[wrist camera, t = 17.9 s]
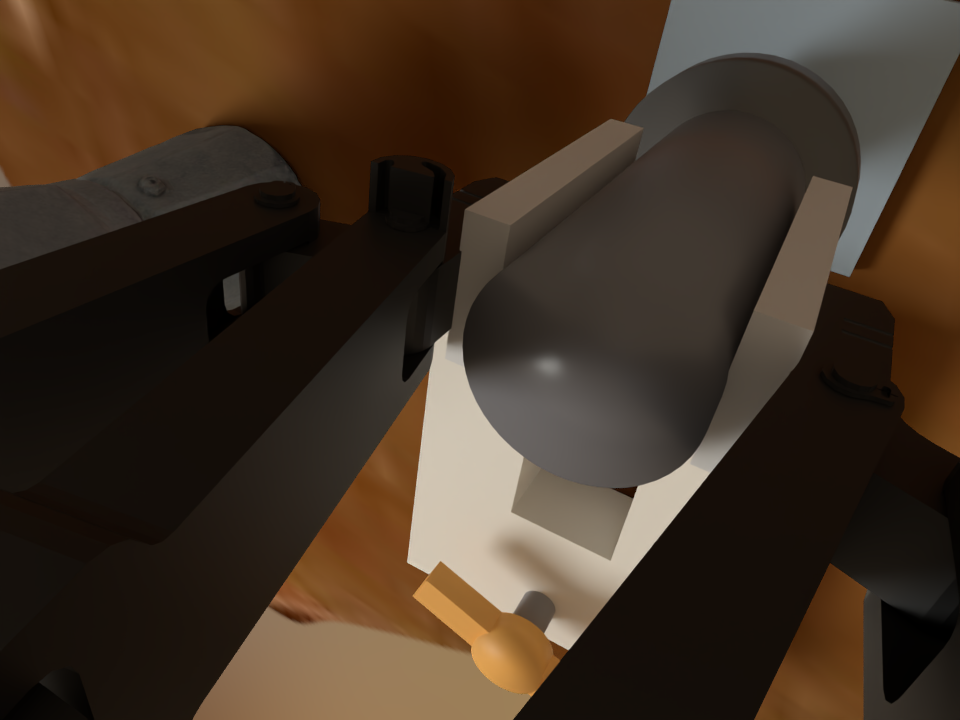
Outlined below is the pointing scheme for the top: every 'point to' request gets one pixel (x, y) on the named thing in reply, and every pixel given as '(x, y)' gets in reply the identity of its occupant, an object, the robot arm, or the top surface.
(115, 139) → the top surface
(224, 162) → the moka pot
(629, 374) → the plug
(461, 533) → the socket board
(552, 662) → the orange bar with knob
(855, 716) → the top surface
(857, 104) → the pad
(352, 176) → the top surface
